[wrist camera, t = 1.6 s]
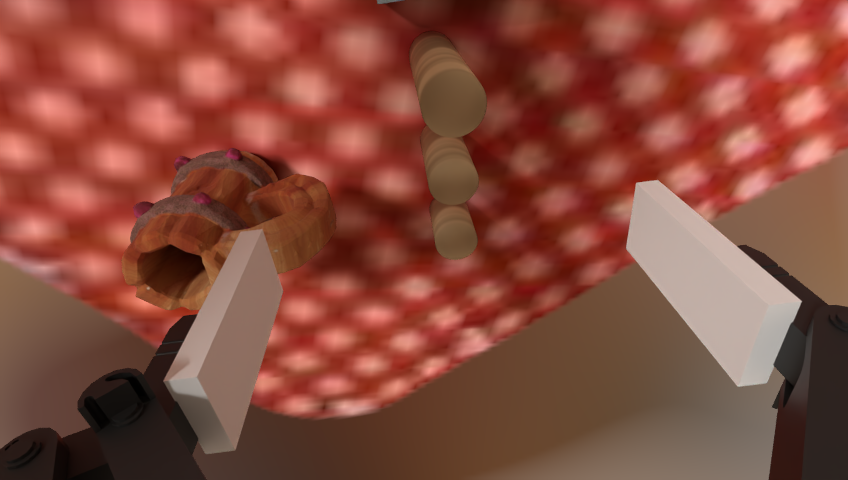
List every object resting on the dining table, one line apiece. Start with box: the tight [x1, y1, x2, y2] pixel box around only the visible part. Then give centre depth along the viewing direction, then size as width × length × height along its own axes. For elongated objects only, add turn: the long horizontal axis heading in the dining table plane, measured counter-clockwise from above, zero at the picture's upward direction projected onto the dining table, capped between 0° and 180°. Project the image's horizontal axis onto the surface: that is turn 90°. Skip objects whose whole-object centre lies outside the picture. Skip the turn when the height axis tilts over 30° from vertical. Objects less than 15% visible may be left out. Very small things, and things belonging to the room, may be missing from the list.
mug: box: [122, 148, 336, 310], centre depth 35 cm, size 15×8×15 cm, turn 100°
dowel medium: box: [420, 125, 479, 205], centre depth 37 cm, size 4×4×9 cm
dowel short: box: [430, 198, 478, 260], centre depth 42 cm, size 4×4×6 cm
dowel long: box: [409, 31, 487, 138], centre depth 31 cm, size 4×4×14 cm
